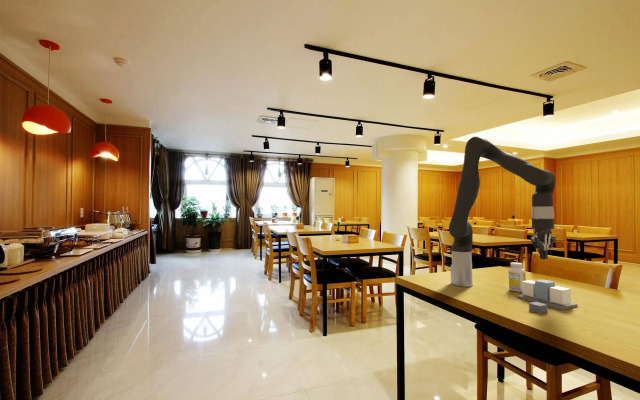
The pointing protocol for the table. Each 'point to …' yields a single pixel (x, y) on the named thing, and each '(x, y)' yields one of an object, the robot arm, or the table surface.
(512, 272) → the supplement bottle
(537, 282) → the block
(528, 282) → the din rail
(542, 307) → the dark grey block
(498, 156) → the robot arm
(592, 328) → the table surface
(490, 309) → the table surface
